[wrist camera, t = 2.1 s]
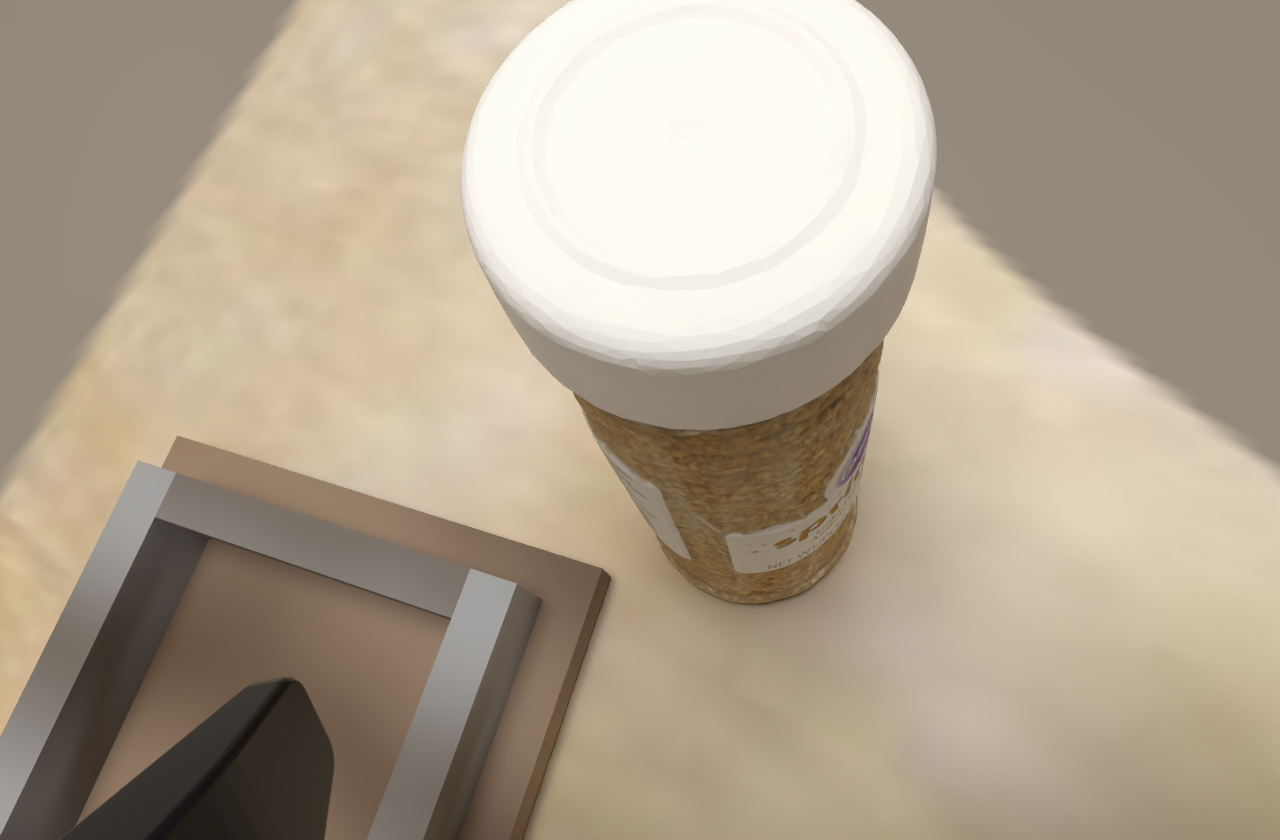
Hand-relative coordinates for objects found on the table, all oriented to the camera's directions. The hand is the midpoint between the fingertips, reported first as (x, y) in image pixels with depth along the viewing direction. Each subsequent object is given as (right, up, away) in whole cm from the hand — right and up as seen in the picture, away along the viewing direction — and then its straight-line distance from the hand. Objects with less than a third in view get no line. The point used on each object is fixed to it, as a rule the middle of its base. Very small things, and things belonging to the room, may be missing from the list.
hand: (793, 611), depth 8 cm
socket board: (-9, -5, +13) cm, 16 cm away
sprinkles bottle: (+1, 0, +13) cm, 13 cm away
